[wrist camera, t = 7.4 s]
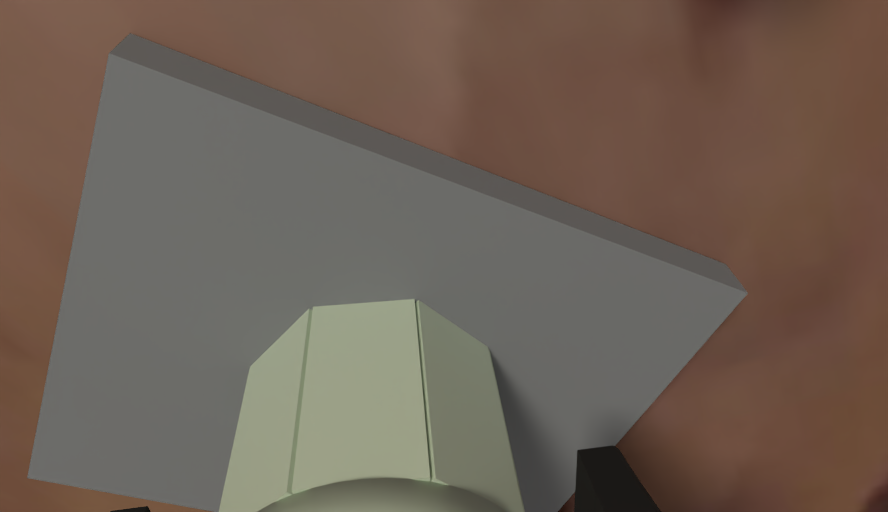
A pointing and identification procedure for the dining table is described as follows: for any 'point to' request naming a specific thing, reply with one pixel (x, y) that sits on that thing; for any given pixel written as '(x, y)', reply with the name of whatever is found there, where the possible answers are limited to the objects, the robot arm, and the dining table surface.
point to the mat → (331, 282)
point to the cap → (372, 418)
